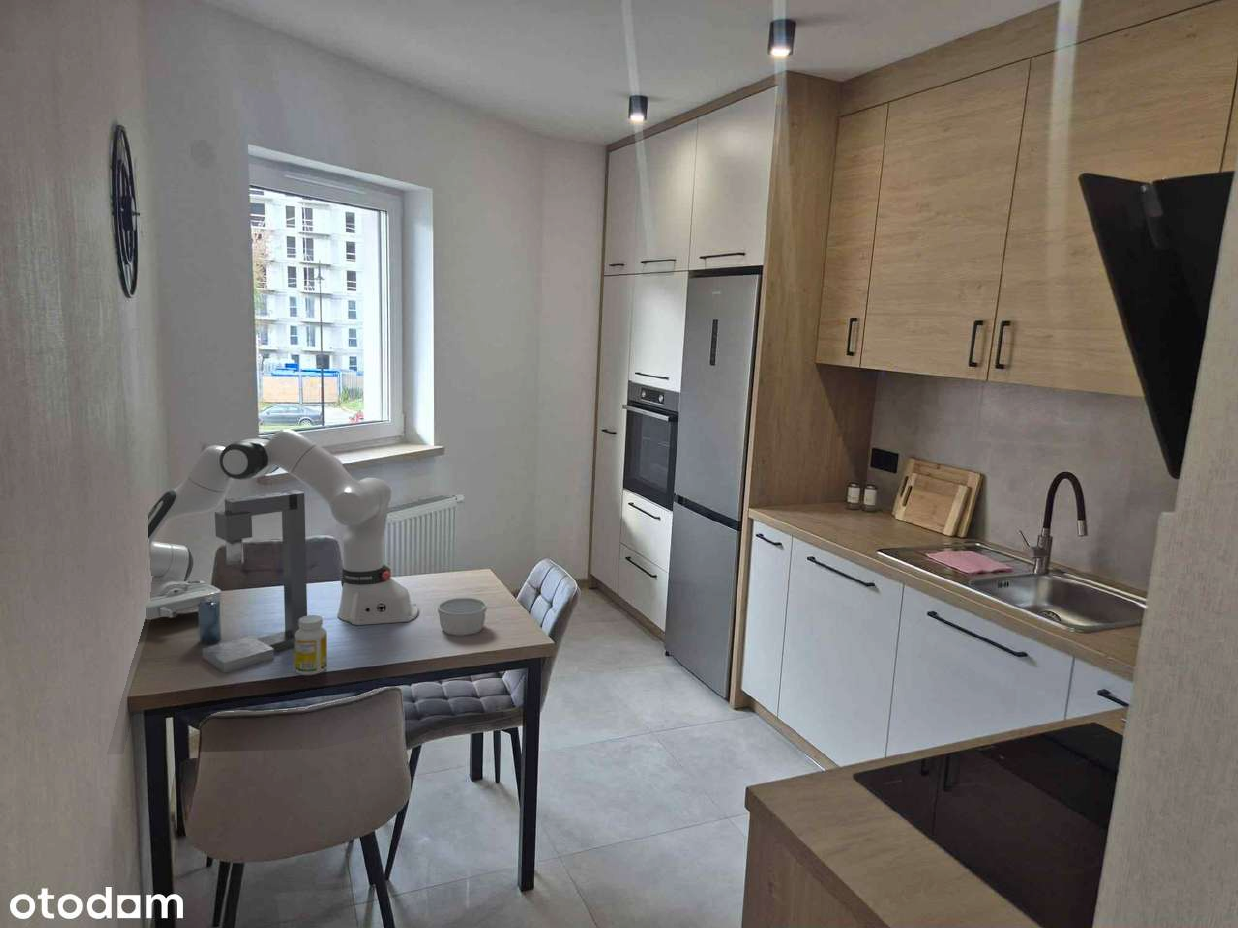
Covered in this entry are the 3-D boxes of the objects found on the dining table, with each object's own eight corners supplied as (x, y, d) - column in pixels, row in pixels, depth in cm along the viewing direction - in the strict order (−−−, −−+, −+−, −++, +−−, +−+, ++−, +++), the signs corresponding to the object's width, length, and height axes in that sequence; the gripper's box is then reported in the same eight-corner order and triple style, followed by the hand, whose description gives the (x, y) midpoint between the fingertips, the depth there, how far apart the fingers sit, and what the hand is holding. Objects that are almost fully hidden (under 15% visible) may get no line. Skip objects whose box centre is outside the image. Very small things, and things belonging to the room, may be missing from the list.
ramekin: (436, 638, 211) (436, 613, 210) (439, 620, 224) (439, 597, 223) (485, 637, 213) (486, 613, 212) (486, 620, 226) (486, 597, 225)
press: (292, 633, 210) (288, 487, 203) (315, 646, 202) (312, 495, 196) (202, 658, 192) (195, 499, 186) (224, 672, 185) (217, 508, 178)
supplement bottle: (304, 678, 184) (303, 626, 181) (289, 669, 188) (288, 618, 186) (332, 669, 189) (332, 618, 187) (317, 660, 194) (316, 611, 191)
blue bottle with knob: (224, 636, 206) (222, 594, 204) (217, 644, 201) (215, 601, 199) (204, 636, 205) (202, 594, 203) (196, 644, 200) (194, 601, 198)
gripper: (129, 595, 209) (149, 608, 201) (208, 578, 225) (230, 590, 216) (130, 617, 210) (150, 631, 202) (209, 599, 226) (231, 611, 217)
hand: (192, 609), depth 209 cm, fingers open, 8 cm apart
